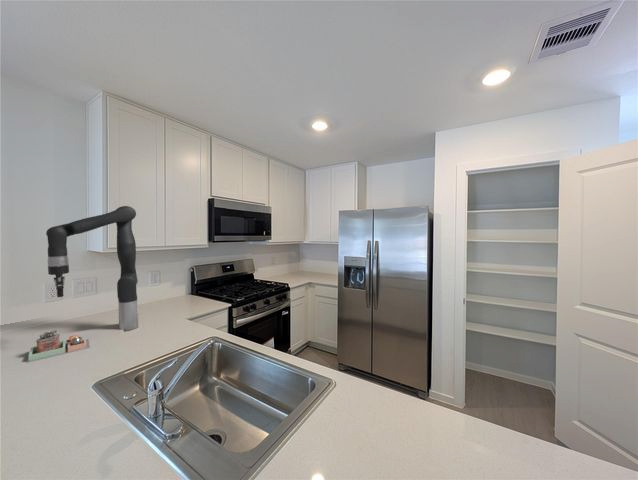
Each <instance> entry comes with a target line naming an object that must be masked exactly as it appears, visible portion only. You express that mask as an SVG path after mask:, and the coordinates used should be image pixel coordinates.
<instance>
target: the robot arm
mask: <svg viewBox="0 0 638 480" xmlns="http://www.w3.org/2000/svg"><path fill="white" fill-rule="evenodd" d="M136 216H137V211H136V210H135V208H133V207H132V206H129V205H128V206H127V205H123V206H119V207H117V208H116V209H115V210H113V211H109V212H106V213H103V214H100V215H99V214H98V215H94V216H90V217H85V218H81V219H78V220H74V221H70V222H69V223H64V224H59V225H55V226H51V227H49V228H47V230H46V231H45V232H46V233H45V234H46V235H45V236H47V245H48V247H47V270H48V271H47V272H48V273H47V274H48V275H50V276H54V275H55V276H54V277H53V282H54V287H56V288H55V290H56V296H57V298H62V297H64V289H65V288H64V286H65V281H66V278H65V276H63V275H65V274H69V273H70V267H69V265H70V264H69V258H68V247H67V241H68V237H70V236H74V235H78V234H83V233H87V232H90V231H94V230H97V229H99V228H101V227H106V226H108V225H111V224H116V253H117V255H116V256H117V258H118V259H117V260H118V261H119V265H120V278H118V280H117V282H116V283H117V284H116V287H117V288H116V289H117V291H116V292H117V293H116V295H117V300H118V329H119V330H123V332H128V331H129V332H130V331H133V330H135V329H139V312H138V295H137V294H138V292H137V285H138V281H139V280H138V275H137V269H136V260H137V246H136V245H137V243H136V240H135V236H134V233H133V230H132V229H133V228H132V227H133V226H132V225H133V223H132V222H133V220H134V219H135V218H136Z"/></svg>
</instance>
